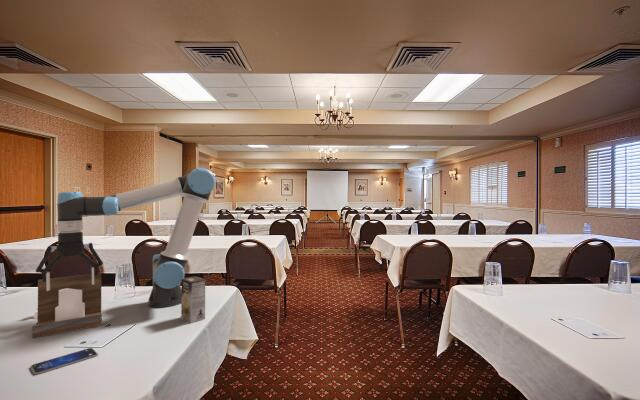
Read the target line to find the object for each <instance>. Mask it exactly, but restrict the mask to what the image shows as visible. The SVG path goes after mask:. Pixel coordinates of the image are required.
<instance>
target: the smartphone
mask: <svg viewBox="0 0 640 400" xmlns="http://www.w3.org/2000/svg"><path fill="white" fill-rule="evenodd" d="M96 357H99V353H98V352H97V351H96V350H95V349H94V348H92V347H89V348H86V349H82V350H79V351H75V352H72V353H69V354H68V353H67V354H64V355H61V356H58V357H54V358H51V359H47V360H44V361H40V362H36V363H34V364H32V365H30V366H29V370H30V371H31V373H32V375H33V376H38V375H42V374H46V373H49V372H52V371H55V370H59V369H61V368H64V367H68V366H71V365H75V364H76V363H80V362H84V361H86V360H90V359H93V358H96Z"/></svg>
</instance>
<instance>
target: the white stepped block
mask: <svg viewBox="0 0 640 400" xmlns="http://www.w3.org/2000/svg"><path fill="white" fill-rule="evenodd" d="M81 317H85V303H83V302H82V290H78V289H70V288H65V289H61V290H59V306H57V307H56V308H55V322H57V321H63V320H69V319H75V318H81Z"/></svg>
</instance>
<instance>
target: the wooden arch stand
mask: <svg viewBox="0 0 640 400" xmlns="http://www.w3.org/2000/svg"><path fill="white" fill-rule="evenodd" d="M65 288H70V289H78V290H82V302H83V303H85V317H81V318H75V319H69V320H63V321H57V322H55V308H56V307H57V306H59V290H61V289H65ZM37 308H38V310H37V312H38V319H37V322H36V324H35V325H32V326H31V329H32V331H31V338H32V339H33V338H34V339H35V338H39V337H45V336H49V335H55V334H63V333H68V332H72V331H77V330H83V329H89V328H95V327H100V326H102V325H103V324H102V323H103V318H102V317H103V314H102V272H101V273H100V272H98V274H97V275H95V276H94V285H92V273H89V274H82V275H80V274H79V275H71V276H70V275H69V276H62V277H54V278H51V277H50V290H49V291H47V287H46V282H43V281H42V278H41V279H37Z"/></svg>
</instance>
